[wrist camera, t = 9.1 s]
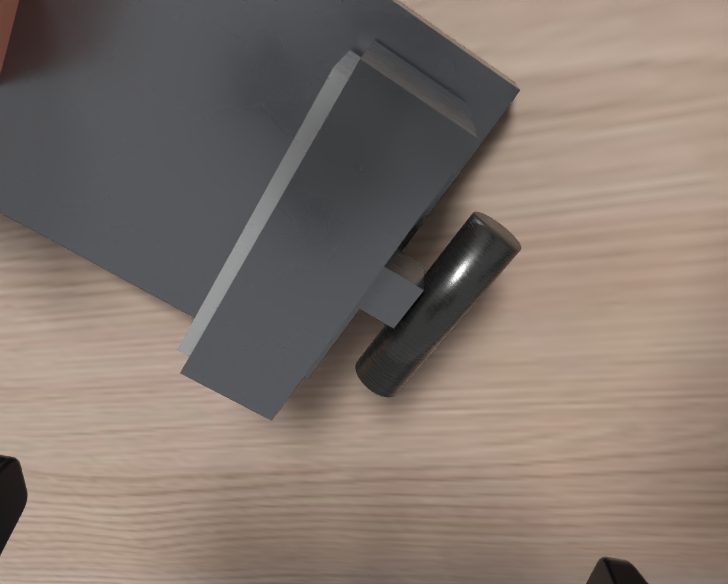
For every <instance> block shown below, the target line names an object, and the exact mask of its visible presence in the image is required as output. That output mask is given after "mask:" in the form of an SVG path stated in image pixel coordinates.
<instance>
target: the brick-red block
mask: <svg viewBox="0 0 728 584" xmlns="http://www.w3.org/2000/svg"><path fill="white" fill-rule="evenodd" d="M18 3H19V0H0V74H1V70H2V66H3V62H4V58H5V54H6V50H7V46H8V42H9V38H10V34H11V30H12V26H13V22H14V19H15V15H16V11H17V7H18Z"/></svg>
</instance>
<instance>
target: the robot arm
mask: <svg viewBox="0 0 728 584" xmlns="http://www.w3.org/2000/svg"><path fill="white" fill-rule="evenodd" d="M26 502H27V488H26V484H25V480H24V476H23V473H22V469H21V465H20V462H19V461H18V460H17V459H16V458H14V457H10V456H4V455H0V555H1V553H2V551H3V549H4V547H5V545H6V543H7V541H8V539H9V537H10V536H11V534H12V532H13V530H14V528H15V526H16V524H17V522H18V520H19V518H20V516H21V514H22V512H23V510H24V508H25V505H26ZM586 584H648V583H647V582H646V580H645V579H644V578H643V576H642V575H641V574H640V573H639V571H638V570H637V569H636V568H635V567H634V565H632V564H631V563H630V562H628V561H626V560H622V559H616V558H610V557H602V558H601V559H599V561H598V562H597V564H596V566H595V568H594V570H593V571H592V573H591V575H590V577H589V579H588V581H587V583H586Z"/></svg>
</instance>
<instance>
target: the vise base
mask: <svg viewBox="0 0 728 584" xmlns="http://www.w3.org/2000/svg"><path fill="white" fill-rule="evenodd" d="M374 40H375V41H376V42H378V43H379V44H381V45H382V46H384V47H385V48H387V49H388V50H389V51H391V52H392V53H394V54H395V55H397V56H398V57H400V58H401V59H403V60H404V61H406V62H407V63H409V64H410V65H411V66H413V67H414V68H416V69H417V70H419V71H420V72H422V73H423V74H425V75H426V76H428V77H429V78H431V79H432V80H433V81H435V82H436V83H438V84H439V85H441V86H442V87H444V88H445V89H447V90H448V91H450V92H451V93H452V94H454V95H455V96H457V97H458V98H460V99H461V100H463V101H464V102H466V103H467V104H468V106H469V109H470V113H471V116H472V120H473V124H474V127H475V131H476V134H477V139H476V141H475V142H474V143H473V145H472V146H471V148H470V149H469V150H468V152H467V153H466V154H465V156H464V157H463V159H462V160H461V161H460V163H459V164H458V165H457V167H456V168H455V170H454V171H453V172H452V174H451V175H450V176H449V178H448V179H447V181H446V182H445V183H444V185H443V186H442V187H441V189H440V190H439V191H438V193H437V194H436V196H435V197H434V198H433V200H432V201H431V202H430V204H429V205H428V207H427V208H426V209H425V211H424V212H423V213H422V215H421V216H420V218H419V219H418V220H417V222H416V223H415V224H414V226H413V227H412V229H411V230H410V231H409V233H408V234H407V235H406V237H405V238H404V240H403V241H402V242H401V244H400V245H399V246H398V248H397V249H398V250H400V251H401V252H402V250H403V249H404V248H405V246H406V245H407V244H408V242H409V241H410V239H411V238H412V237H413V235H414V234H415V233H416V231H417V230H418V229H419V227H420V226H421V225H422V223H423V222H424V220H425V219H426V218H427V216H428V215H429V214H430V212H431V211H432V210H433V208H434V207H435V205H436V204H437V203H438V201H439V200H440V199H441V197H442V196H443V195H444V193H445V192H446V191H447V189H448V188H449V186H450V185H451V184H452V182H453V181H454V180H455V178H456V177H457V176H458V174H459V173H460V171H461V170H462V169H463V167H464V166H465V165H466V163H467V162H468V161H469V159H470V158H471V157H472V155H473V154H474V152H475V151H476V150H477V148H478V147H479V146H480V144H481V143H482V142H483V140H484V139H485V137H486V136H487V135H488V133H489V132H490V131H491V129H492V128H493V127H494V125H495V124H496V123H497V121H498V120H499V118H500V117H501V116H502V114H503V113H504V112H505V110H506V109H507V108H508V106H509V105H510V103H511V102H512V101H513V99H514V98H515V97H516V95H517V94H518V93H519V91H520V89H519V88H518V87H517V85H516V84H515V82H513V81H512V80H510V79H509V78H508V77H506V76H505V75H503V74H502V73H500V72H499V71H498V70H496V69H495V68H493V67H492V66H491V65H489V64H488V63H486V62H485V61H483V60H482V59H481V58H479V57H478V56H476V55H475V54H473V53H472V52H471V51H469V50H468V49H466V48H465V47H464V46H462V45H461V44H459V43H458V42H456V41H455V40H454V39H452V38H451V37H449V36H448V35H447V34H445V33H444V32H442V31H441V30H439V29H438V28H437V27H435V26H434V25H432V24H431V23H429V22H428V21H427V20H425V19H424V18H422V17H421V16H420V15H418V14H417V13H415V12H414V11H412V10H411V9H410V8H408V7H407V6H405V5H404V4H402V3H401V2H400V1H398V0H19V3H18V7H17V11H16V15H15V19H14V22H13V26H12V30H11V34H10V38H9V42H8V46H7V50H6V54H5V58H4V62H3V66H2V70H1V74H0V213H2V214H4V215H6V216H8V217H10V218H12V219H13V220H15V221H17V222H19V223H21V224H23V225H24V226H26V227H28V228H30V229H32V230H34V231H36V232H37V233H39V234H41V235H43V236H45V237H47V238H49V239H50V240H52V241H54V242H56V243H58V244H60V245H61V246H63V247H65V248H67V249H69V250H71V251H73V252H74V253H76V254H78V255H80V256H82V257H84V258H86V259H87V260H89V261H91V262H93V263H95V264H97V265H98V266H100V267H102V268H104V269H106V270H108V271H110V272H111V273H113V274H115V275H117V276H119V277H121V278H123V279H124V280H126V281H128V282H130V283H132V284H134V285H135V286H137V287H139V288H141V289H143V290H145V291H147V292H148V293H150V294H152V295H154V296H156V297H158V298H159V299H161V300H163V301H165V302H167V303H169V304H171V305H172V306H174V307H176V308H178V309H180V310H182V311H184V312H185V313H187V314H189V315H191V316H193V317H196V315H197V313H198V311H199V310H200V308H201V306H202V304H203V302H204V301H205V299H206V297H207V295H208V293H209V291H210V290H211V288H212V286H213V284H214V282H215V281H216V279H217V277H218V275H219V273H220V272H221V270H222V268H223V266H224V264H225V263H226V261H227V259H228V257H229V255H230V254H231V252H232V250H233V248H234V246H235V244H236V243H237V241H238V239H239V237H240V235H241V234H242V232H243V230H244V228H245V226H246V225H247V223H248V221H249V219H250V217H251V216H252V214H253V212H254V210H255V208H256V206H257V205H258V203H259V201H260V199H261V197H262V196H263V194H264V192H265V190H266V188H267V187H268V185H269V183H270V181H271V179H272V178H273V176H274V174H275V172H276V170H277V169H278V167H279V165H280V163H281V161H282V159H283V158H284V156H285V154H286V152H287V150H288V149H289V147H290V145H291V143H292V141H293V140H294V138H295V136H296V134H297V132H298V131H299V129H300V127H301V125H302V123H303V121H304V120H305V118H306V116H307V114H308V112H309V111H310V109H311V107H312V105H313V103H314V102H315V100H316V98H317V96H318V94H319V93H320V91H321V89H322V87H323V85H324V84H325V82H326V80H327V78H328V76H329V74H330V73H331V71H332V69H333V67H334V66H335V65H336V64H337V63H338V62H339V61H340V60H341V59H342V58H343V57H344V56H345V55H346V53H347V52H348V51H349V50H351V51H352V52H354V53H355V54H357V55H358V56H360V57H362V56H363V54H364V53H365V51H366V50H367V49H368V47H369V46H370V45H371V43H372V42H373V41H374ZM358 310H359V308H357V307H356V306H355V307H354V308H353V310H352V311H351V312H350V314H349V315H348V316H347V318H346V319H345V321H344V322H343V323H342V325H341V326H340V327H339V329H338V330H337V332H336V333H335V334H334V336H333V337H332V338H331V340H330V341H329V343H328V344H327V345H326V347H325V348H324V349H323V351H322V352H321V354H320V355H319V356H318V358H317V359H316V360H315V362H314V363H313V365H312V366H311V367H310V369H309V370H308V371H307V373H306V374H305V376H304V377H306V378H307V379H308V378H309V377H310V375H311V374H312V373H313V371H314V370H315V369H316V367H317V366H318V365H319V363H320V362H321V361H322V359H323V358H324V356H325V355H326V354H327V352H328V351H329V350H330V348H331V347H332V346H333V344H334V343H335V341H336V340H337V339H338V337H339V336H340V335H341V333H342V332H343V331H344V329H345V328H346V327H347V325H348V324H349V322H350V321H351V320H352V318H353V317H354V316H355V314H356V313H357V312H358Z"/></svg>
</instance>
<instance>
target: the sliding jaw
mask: <svg viewBox="0 0 728 584" xmlns="http://www.w3.org/2000/svg"><path fill="white" fill-rule="evenodd" d="M476 139H477V134H476V131H475V127H474V124H473V120H472V116H471V113H470V109H469V106H468V104H467V103H466V102H464V101H463V100H461V99H460V98H458V97H457V96H455V95H454V94H452V93H451V92H450V91H448V90H447V89H445V88H444V87H442V86H441V85H439V84H438V83H436V82H435V81H433V80H432V79H431V78H429V77H428V76H426V75H425V74H423V73H422V72H420V71H419V70H417V69H416V68H414V67H413V66H411V65H410V64H409V63H407V62H406V61H404V60H403V59H401V58H400V57H398V56H397V55H395V54H394V53H392V52H391V51H389V50H388V49H387V48H385V47H384V46H382V45H381V44H379V43H378V42H376V41H375V40H374V41H373V42H372V43H371V45H370V46H369V47H368V49H367V50H366V51H365V53H364V54H363V56H362V57H360V56H358V55H357V54H355V53H354V52H352V51H351V50H349V51H348V52H347V53H346V55H345V56H344V57H343V58H342V59H341V60H340V61H339V62H338V63H337V64H336V65H335V66H334V67H333V69H332V71H331V73H330V74H329V76H328V78H327V80H326V82H325V84H324V85H323V87H322V89H321V91H320V93H319V94H318V96H317V98H316V100H315V102H314V103H313V105H312V107H311V109H310V111H309V112H308V114H307V116H306V118H305V120H304V121H303V123H302V125H301V127H300V129H299V131H298V132H297V134H296V136H295V138H294V140H293V141H292V143H291V145H290V147H289V149H288V150H287V152H286V154H285V156H284V158H283V159H282V161H281V163H280V165H279V167H278V169H277V170H276V172H275V174H274V176H273V178H272V179H271V181H270V183H269V185H268V187H267V188H266V190H265V192H264V194H263V196H262V197H261V199H260V201H259V203H258V205H257V206H256V208H255V210H254V212H253V214H252V216H251V217H250V219H249V221H248V223H247V225H246V226H245V228H244V230H243V232H242V234H241V235H240V237H239V239H238V241H237V243H236V244H235V246H234V248H233V250H232V252H231V254H230V255H229V257H228V259H227V261H226V263H225V264H224V266H223V268H222V270H221V272H220V273H219V275H218V277H217V279H216V281H215V282H214V284H213V286H212V288H211V290H210V291H209V293H208V295H207V297H206V299H205V301H204V302H203V304H202V306H201V308H200V310H199V311H198V313H197V315H196V317H195V319H194V320H193V322H192V324H191V326H190V328H189V329H188V331H187V333H186V335H185V337H184V338H183V340H182V342H181V344H180V346H179V348H178V349H177V350H178V351H180V352H182V353H184V354H186V355H188V356H190V357H189V359H188V360H187V362H186V364H185V366H184V367H183V369H182V371H181V374H183V375H185V376H187V377H188V378H190V379H192V380H194V381H196V382H198V383H200V384H202V385H204V386H206V387H208V388H210V389H212V390H214V391H215V392H217V393H219V394H221V395H223V396H225V397H227V398H229V399H231V400H233V401H235V402H237V403H239V404H241V405H242V406H244V407H246V408H248V409H250V410H252V411H254V412H256V413H258V414H260V415H262V416H264V417H266V418H268V419H270V420H271V421H272V420H273V418H274V417H275V415H276V414H277V413H278V411H279V410H280V409H281V407H282V406H283V404H284V403H285V402H286V400H287V399H288V398H289V396H290V395H291V393H292V392H293V391H294V389H295V388H296V387H297V385H298V384H299V382H300V381H301V380H302V378H303V377H304V376H305V374H306V373H307V371H308V370H309V369H310V367H311V366H312V365H313V363H314V362H315V360H316V359H317V358H318V356H319V355H320V354H321V352H322V351H323V349H324V348H325V347H326V345H327V344H328V343H329V341H330V340H331V338H332V337H333V336H334V334H335V333H336V332H337V330H338V329H339V327H340V326H341V325H342V323H343V322H344V321H345V319H346V318H347V316H348V315H349V314H350V312H351V311H352V310H353V308H354V307H355V306H356V307H357V308H359V309H361V310H363V311H364V312H366V313H368V314H369V315H371V316H373V317H375V318H376V319H378V320H380V321H382V322H383V323H385V324H386V325H385V326H384V328H383V329H382V330H381V331H380V333H379V334H378V335H377V337H376V338H375V339H374V340H373V342H372V343H371V344H370V346H369V347H368V348H367V349H366V351H365V352H364V353H363V355H362V356H361V357H360V358H359V360H358V361H357V363H356V372H357V375H358V377H359V379H360V380H361V381H362V383H363V384H364V385H365V386H366V387H367V388H368V389H370V390H371V391H372V392H374V393H376V394H378V395H380V396H383V397H393V396H395V395H396V394H397V393H398V392H399V391H400V389H401V388H402V387H403V386H404V385H405V384H406V383H407V381H408V380H409V379H410V378H411V377H412V376H413V374H414V373H415V372H416V371H417V370H418V369H419V367H420V366H421V365H422V364H423V363H424V362H425V360H426V359H427V358H428V357H429V356H430V355H431V353H432V352H433V351H434V350H435V349H436V348H437V347H438V345H439V344H440V343H441V342H442V341H443V340H444V338H445V337H446V336H447V335H448V334H449V333H450V331H451V330H452V329H453V328H454V327H455V326H456V324H457V323H458V322H459V321H460V320H461V319H462V318H463V316H464V315H465V314H466V313H467V312H468V311H469V309H470V308H471V307H472V306H473V305H474V304H475V302H476V301H477V300H478V299H479V298H480V297H481V295H482V294H483V293H484V292H485V291H486V290H487V288H488V287H489V286H490V285H491V284H492V283H493V282H494V280H495V279H496V278H497V277H498V276H499V275H500V273H501V272H502V271H503V270H504V269H505V268H506V266H507V265H508V264H509V263H510V262H511V261H512V259H513V258H514V257H515V256H516V255H517V254H518V253H519V251H520V250H521V245H520V243H519V242H518V240H517V239H516V238H515V237H514V236H513V235H512V234H511V233H510V232H509V231H508V230H507V229H506V228H505V227H504V226H502V225H501V224H500V223H498V222H497V221H495V220H494V219H492V218H491V217H489V216H487V215H485V214H483V213H480V212H473V213H472V215H471V216H470V217H469V219H468V220H467V221H466V222H465V224H464V225H463V226H462V228H461V229H460V230H459V231H458V233H457V234H456V235H455V237H454V238H453V239H452V240H451V242H450V243H449V244H448V245H447V247H446V248H445V249H444V251H443V252H442V253H441V254H440V256H439V257H438V258H437V260H436V261H435V262H434V263H433V265H432V266H431V267H430V269H429V270H428V271H427V272H426V274H425V275H424V265H423V264H421V263H419V262H418V261H416V260H414V259H413V258H411V257H410V256H408V255H406V254H405V253H403V252H401V251H400V250H398V249H397V248H398V246H399V245H400V244H401V242H402V241H403V240H404V238H405V237H406V235H407V234H408V233H409V231H410V230H411V229H412V227H413V226H414V224H415V223H416V222H417V220H418V219H419V218H420V216H421V215H422V213H423V212H424V211H425V209H426V208H427V207H428V205H429V204H430V202H431V201H432V200H433V198H434V197H435V196H436V194H437V193H438V191H439V190H440V189H441V187H442V186H443V185H444V183H445V182H446V181H447V179H448V178H449V176H450V175H451V174H452V172H453V171H454V170H455V168H456V167H457V165H458V164H459V163H460V161H461V160H462V159H463V157H464V156H465V154H466V153H467V152H468V150H469V149H470V148H471V146H472V145H473V143H474V142H475V141H476Z"/></svg>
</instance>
